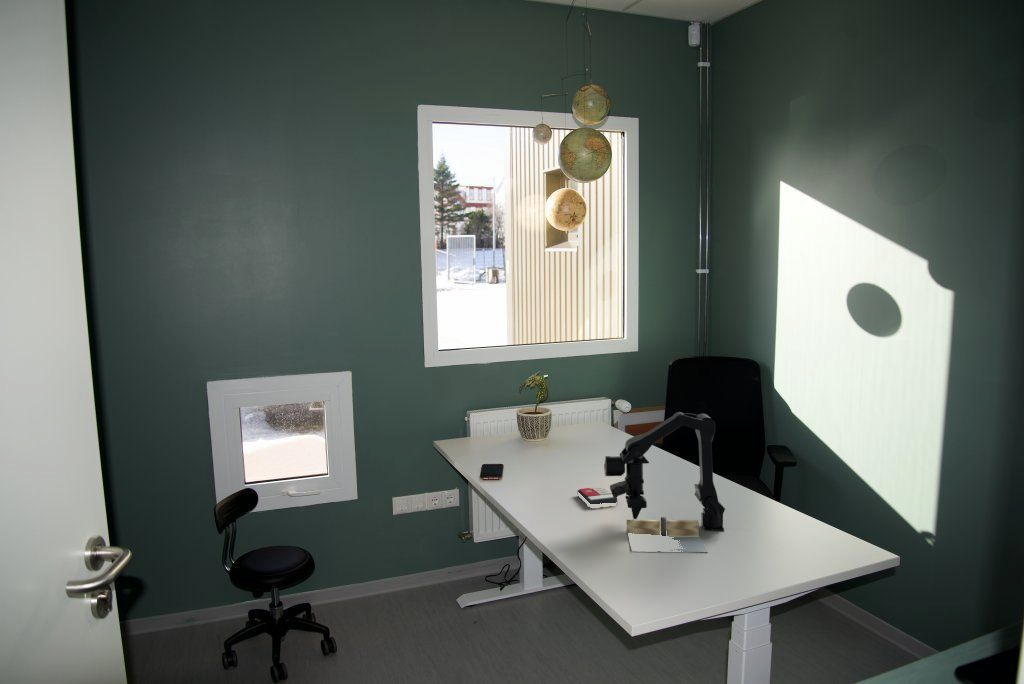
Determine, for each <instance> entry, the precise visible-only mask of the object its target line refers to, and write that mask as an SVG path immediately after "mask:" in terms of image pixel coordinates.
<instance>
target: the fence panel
mask: <svg viewBox="0 0 1024 684" xmlns="http://www.w3.org/2000/svg"><path fill="white" fill-rule="evenodd" d="M660 531H661V519H660V520H659V519H626V534H627V533H632V534H633V533H634V534H651V535H660Z"/></svg>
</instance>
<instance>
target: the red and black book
mask: <svg viewBox="0 0 1024 684" xmlns="http://www.w3.org/2000/svg"><path fill="white" fill-rule="evenodd" d="M578 492H579V493H580V494H581V495H582V496H583V497H584V498H585V499H586V500H587V501H588V502H589V503H590V504H600V503H601V504H602V503H616V502H617V503H618V497H615V498H614V497H613V495H612V493H611V491H609V490H608V489H606V488H605V487H604V486H594V487H586V488H585V487H584V488H579V489H578V490H577V493H578Z"/></svg>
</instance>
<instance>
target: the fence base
mask: <svg viewBox="0 0 1024 684" xmlns="http://www.w3.org/2000/svg"><path fill="white" fill-rule="evenodd" d="M699 523H700V522H699V520H697V519H696V520H695V519H689V520H687V519H684V520H683V519H667V516H666V517H665V516H660V531H661V535H662V536H666V531H667V536H699V535H700V534H699V531H700V529H699V527H700V526H699Z"/></svg>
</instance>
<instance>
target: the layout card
mask: <svg viewBox="0 0 1024 684" xmlns="http://www.w3.org/2000/svg"><path fill="white" fill-rule="evenodd" d="M669 537H674V538H672V539H674V540H678V541H679V540H680V541H679V542H680V543H679V542H678V543H679V545H680V544H681V545H680V546H682V547H683V549H676V550H678V551H680V550H681V552H682V551H683V552H703V553H702V554H708V553H707V552H708V550H707V548H706V546H705V543H704V541H703V540H702V538H701V535H700V534H699V536H669ZM669 544H670V543H669ZM680 546H679V547H680ZM682 547H681V548H682ZM684 548H685V549H684ZM670 550H671V549H670ZM674 550H675V549H674ZM671 551H673V550H671ZM705 552H706V553H705Z"/></svg>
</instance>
